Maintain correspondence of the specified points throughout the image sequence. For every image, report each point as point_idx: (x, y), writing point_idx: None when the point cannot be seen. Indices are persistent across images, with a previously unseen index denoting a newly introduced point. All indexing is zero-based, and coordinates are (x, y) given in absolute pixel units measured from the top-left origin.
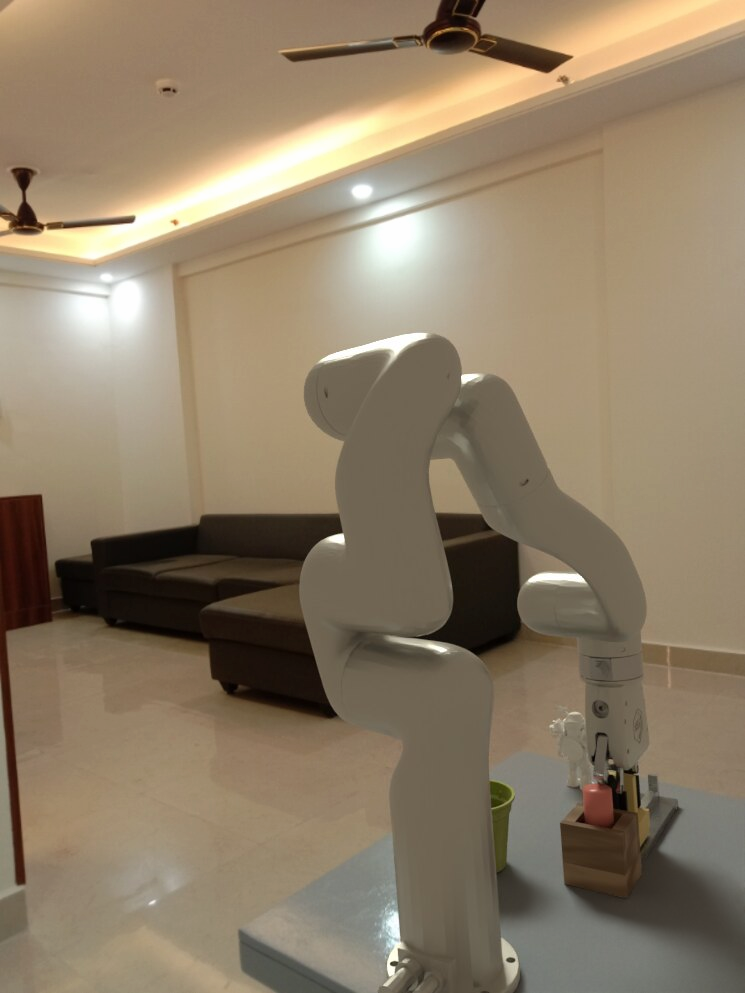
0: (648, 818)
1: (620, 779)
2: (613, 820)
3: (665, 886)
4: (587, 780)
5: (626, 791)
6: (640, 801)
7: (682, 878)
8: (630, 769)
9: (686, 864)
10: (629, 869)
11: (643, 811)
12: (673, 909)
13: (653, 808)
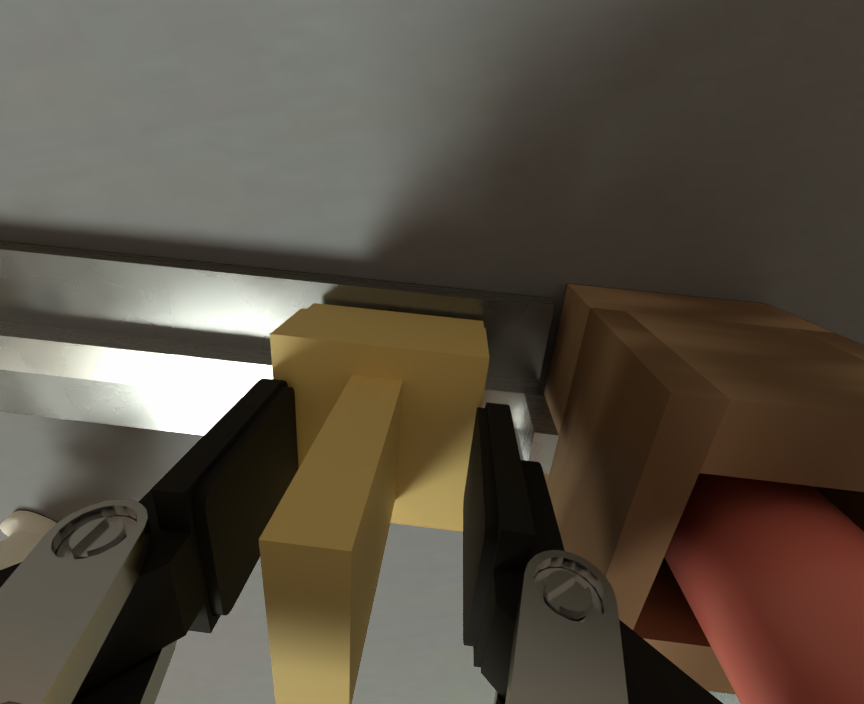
0: (306, 322)
1: (619, 691)
2: (798, 506)
3: (651, 183)
4: (23, 551)
5: (506, 530)
6: (255, 388)
7: (570, 125)
8: (148, 577)
9: (444, 127)
10: (760, 324)
11: (309, 355)
12: (838, 122)
13: (79, 321)
